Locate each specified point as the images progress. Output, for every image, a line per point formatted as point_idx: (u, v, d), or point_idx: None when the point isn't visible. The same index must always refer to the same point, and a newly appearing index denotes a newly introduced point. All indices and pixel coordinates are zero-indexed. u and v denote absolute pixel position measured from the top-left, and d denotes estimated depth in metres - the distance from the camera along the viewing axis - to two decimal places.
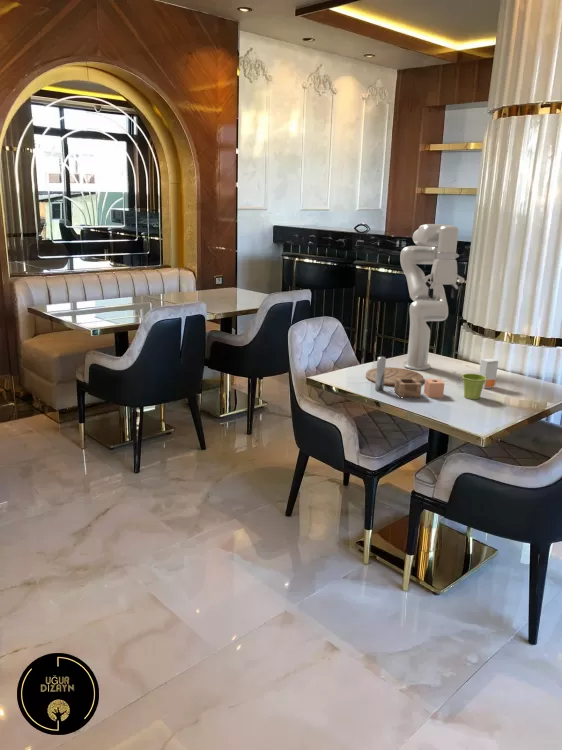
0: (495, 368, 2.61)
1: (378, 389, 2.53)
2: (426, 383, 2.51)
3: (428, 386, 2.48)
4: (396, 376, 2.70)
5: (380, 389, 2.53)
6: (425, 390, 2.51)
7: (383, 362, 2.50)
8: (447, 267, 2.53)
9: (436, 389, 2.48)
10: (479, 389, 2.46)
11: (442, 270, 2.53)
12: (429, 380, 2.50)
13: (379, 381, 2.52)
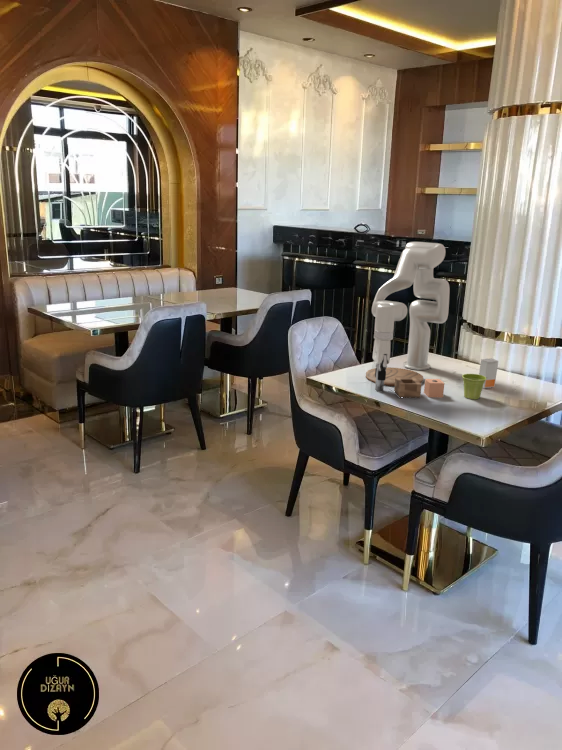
0: (495, 368, 2.61)
1: (378, 389, 2.53)
2: (426, 383, 2.51)
3: (428, 386, 2.48)
4: (396, 376, 2.70)
5: (380, 389, 2.53)
6: (425, 390, 2.51)
7: None
8: None
9: (436, 389, 2.48)
10: (479, 389, 2.46)
11: None
12: (429, 380, 2.50)
13: (379, 381, 2.52)
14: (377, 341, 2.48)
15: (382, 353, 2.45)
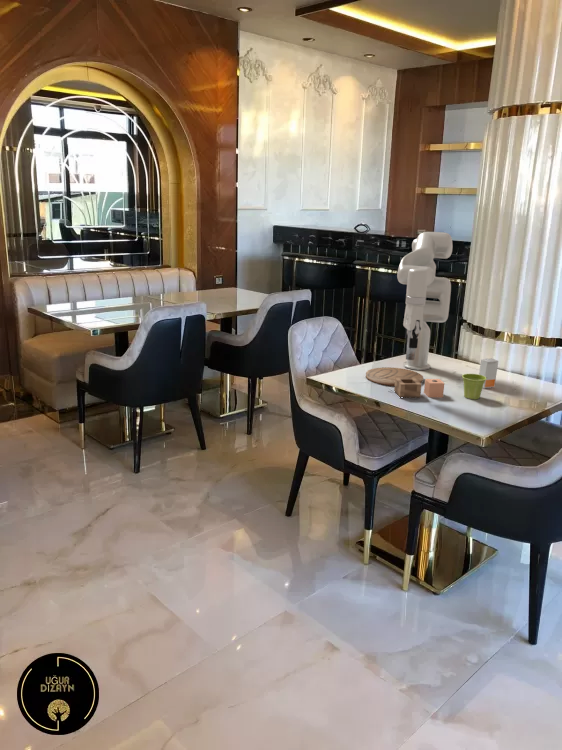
0: (495, 368, 2.61)
1: (409, 357, 2.44)
2: (426, 383, 2.51)
3: (428, 386, 2.48)
4: (396, 376, 2.70)
5: (411, 357, 2.44)
6: (425, 390, 2.51)
7: None
8: None
9: (436, 389, 2.48)
10: (479, 389, 2.46)
11: None
12: (429, 380, 2.50)
13: (410, 349, 2.43)
14: (409, 307, 2.39)
15: (414, 319, 2.36)
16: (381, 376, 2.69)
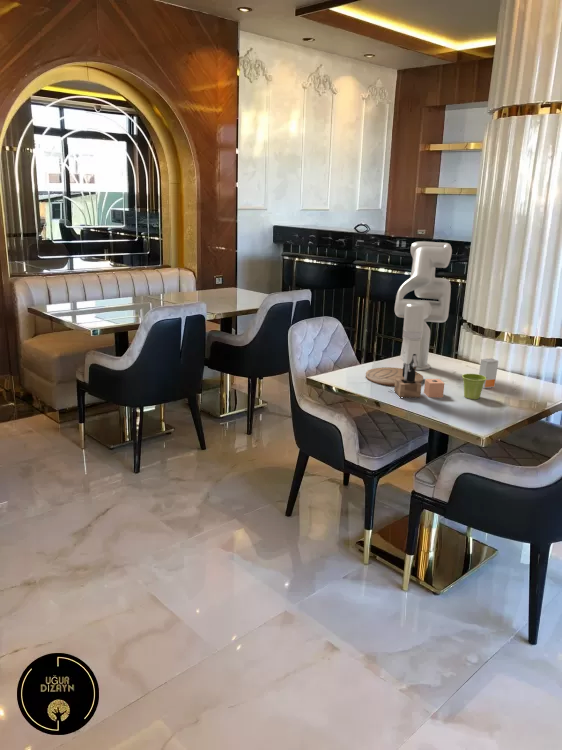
0: (495, 368, 2.61)
1: None
2: (426, 383, 2.51)
3: (428, 386, 2.48)
4: (396, 376, 2.70)
5: None
6: (425, 390, 2.51)
7: None
8: None
9: (436, 389, 2.48)
10: (479, 389, 2.46)
11: None
12: (429, 380, 2.50)
13: None
14: (406, 341, 2.42)
15: (411, 353, 2.40)
16: (381, 376, 2.69)
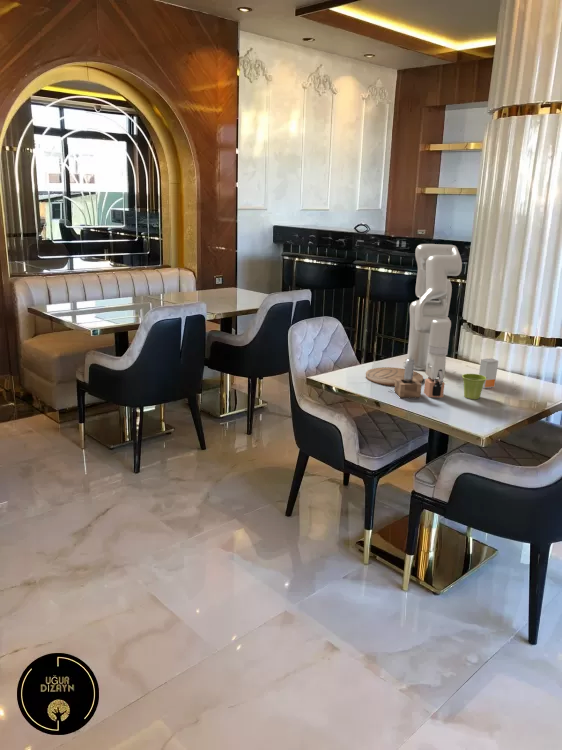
0: (495, 368, 2.61)
1: None
2: (426, 383, 2.51)
3: (428, 386, 2.48)
4: (396, 376, 2.70)
5: None
6: (426, 390, 2.51)
7: (411, 364, 2.45)
8: None
9: None
10: (479, 389, 2.46)
11: None
12: (429, 380, 2.50)
13: None
14: (432, 356, 2.45)
15: (437, 369, 2.43)
16: (381, 376, 2.69)
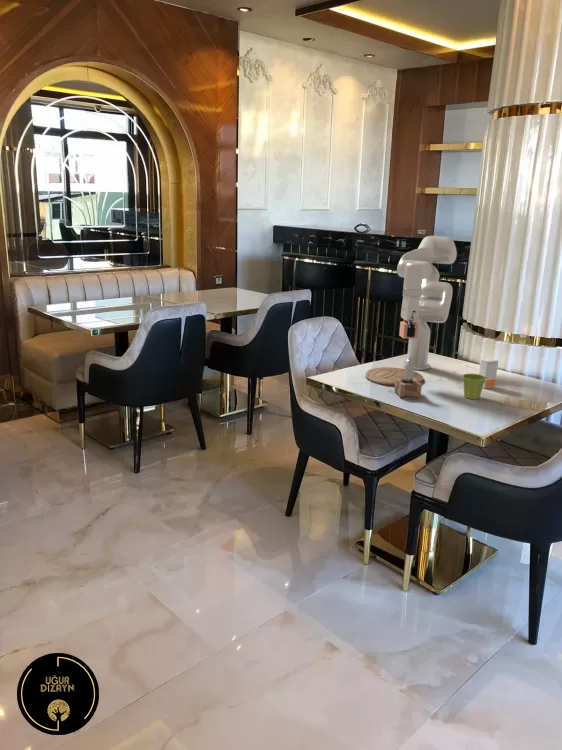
0: (495, 368, 2.61)
1: None
2: (401, 325, 2.62)
3: (403, 327, 2.59)
4: (396, 376, 2.70)
5: None
6: (401, 332, 2.62)
7: (412, 364, 2.45)
8: None
9: None
10: (479, 389, 2.46)
11: None
12: (404, 322, 2.61)
13: None
14: (406, 298, 2.56)
15: (411, 310, 2.54)
16: (381, 376, 2.69)
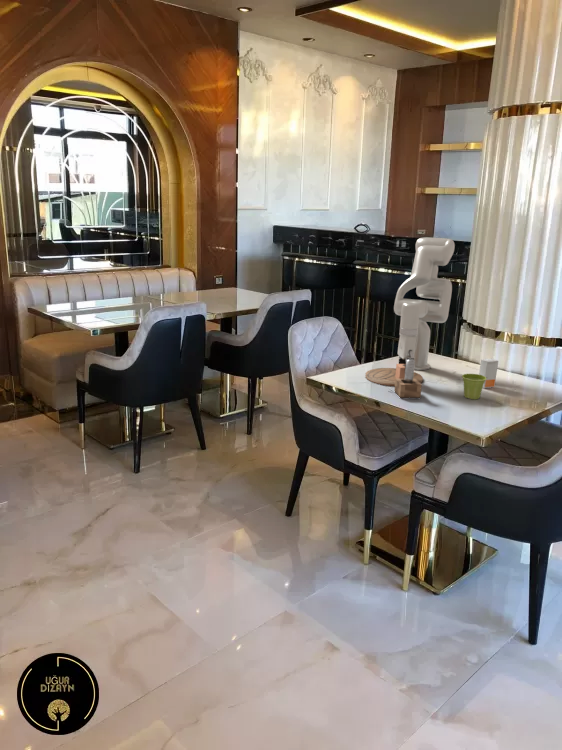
0: (495, 368, 2.61)
1: None
2: (397, 367, 2.67)
3: (399, 370, 2.65)
4: (395, 377, 2.70)
5: None
6: (397, 374, 2.68)
7: (412, 364, 2.45)
8: None
9: None
10: (479, 389, 2.46)
11: None
12: (400, 365, 2.67)
13: None
14: (402, 337, 2.61)
15: (407, 349, 2.59)
16: (381, 377, 2.69)
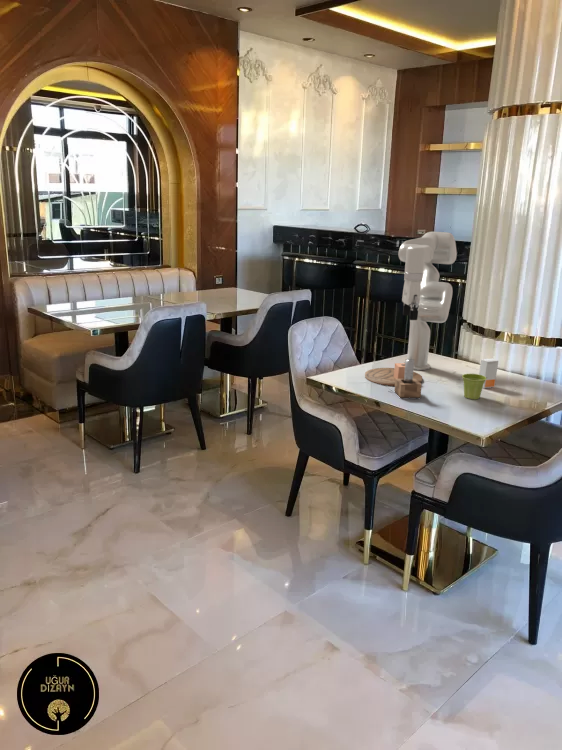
0: (495, 368, 2.61)
1: None
2: (396, 367, 2.68)
3: (397, 370, 2.66)
4: None
5: None
6: (395, 374, 2.69)
7: (411, 364, 2.45)
8: None
9: None
10: (479, 389, 2.46)
11: None
12: (398, 364, 2.68)
13: None
14: (407, 282, 2.54)
15: (412, 294, 2.52)
16: (380, 377, 2.69)
